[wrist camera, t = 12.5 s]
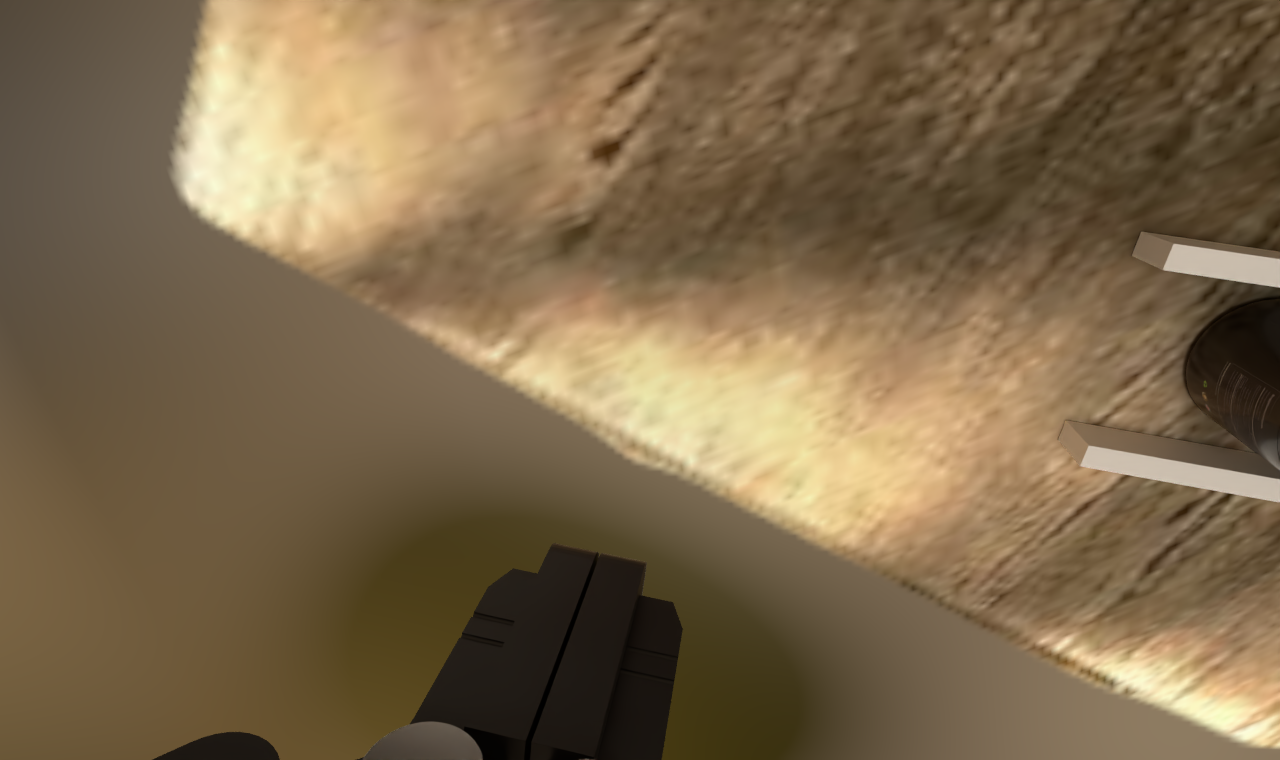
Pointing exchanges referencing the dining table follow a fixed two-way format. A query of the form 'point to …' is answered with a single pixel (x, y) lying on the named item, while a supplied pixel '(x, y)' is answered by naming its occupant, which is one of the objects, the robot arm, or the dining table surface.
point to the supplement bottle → (1241, 376)
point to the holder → (1172, 455)
